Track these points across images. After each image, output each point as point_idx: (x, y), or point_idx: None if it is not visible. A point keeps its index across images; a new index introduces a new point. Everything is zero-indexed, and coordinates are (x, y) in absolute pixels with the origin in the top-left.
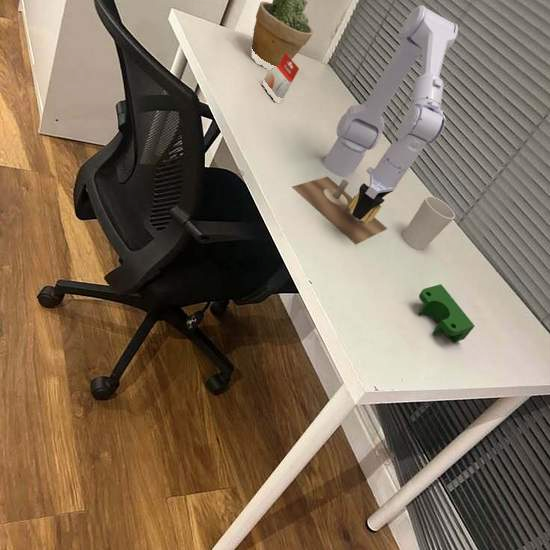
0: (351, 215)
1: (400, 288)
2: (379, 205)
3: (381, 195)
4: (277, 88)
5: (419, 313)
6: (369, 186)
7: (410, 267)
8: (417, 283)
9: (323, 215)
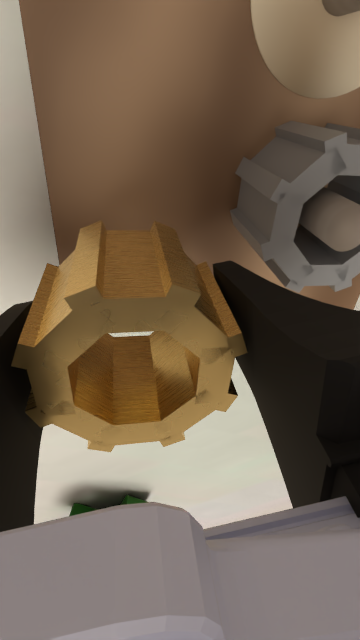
0: (243, 188)
1: (105, 454)
2: (172, 433)
3: (269, 420)
4: None
5: (72, 509)
6: (271, 322)
7: (239, 421)
8: (190, 456)
9: (34, 90)
